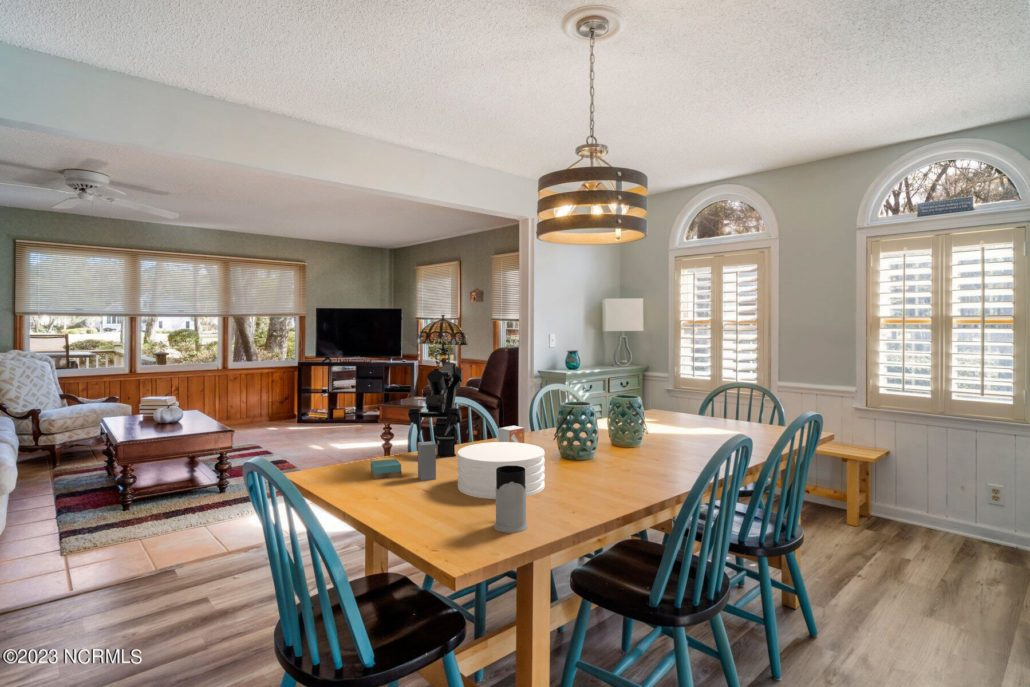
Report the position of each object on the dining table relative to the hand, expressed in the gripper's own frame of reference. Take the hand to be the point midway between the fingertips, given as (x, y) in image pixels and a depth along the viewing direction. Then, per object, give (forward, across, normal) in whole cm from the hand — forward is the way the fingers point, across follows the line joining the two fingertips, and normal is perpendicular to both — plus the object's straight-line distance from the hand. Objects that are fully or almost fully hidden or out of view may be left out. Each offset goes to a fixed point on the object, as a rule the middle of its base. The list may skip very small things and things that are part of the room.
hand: (431, 435), depth 200 cm
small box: (-3, +27, +22) cm, 35 cm away
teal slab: (+11, -15, +6) cm, 20 cm away
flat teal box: (+12, -15, +7) cm, 21 cm away
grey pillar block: (+15, 0, +4) cm, 15 cm away
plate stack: (+20, +26, 0) cm, 33 cm away
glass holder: (+44, +32, -24) cm, 59 cm away
